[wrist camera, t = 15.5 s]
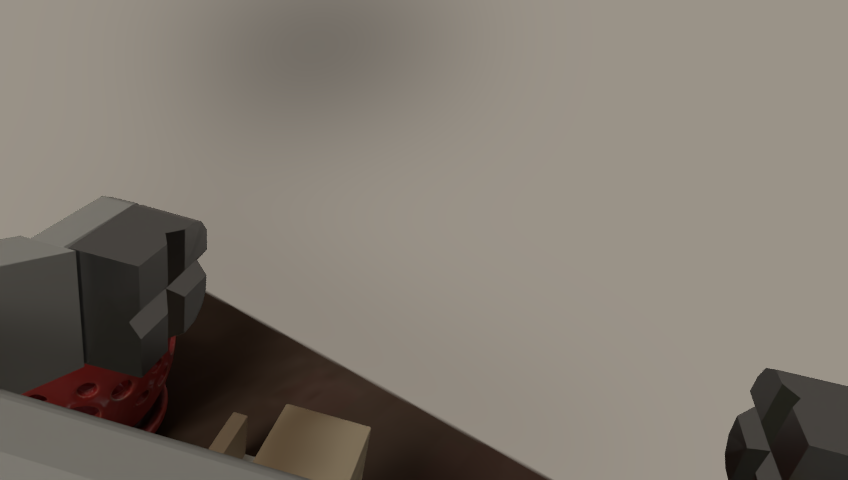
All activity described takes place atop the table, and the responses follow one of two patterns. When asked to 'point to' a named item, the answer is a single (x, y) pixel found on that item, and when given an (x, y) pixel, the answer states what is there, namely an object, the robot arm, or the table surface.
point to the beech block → (315, 446)
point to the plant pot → (113, 393)
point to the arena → (233, 438)
